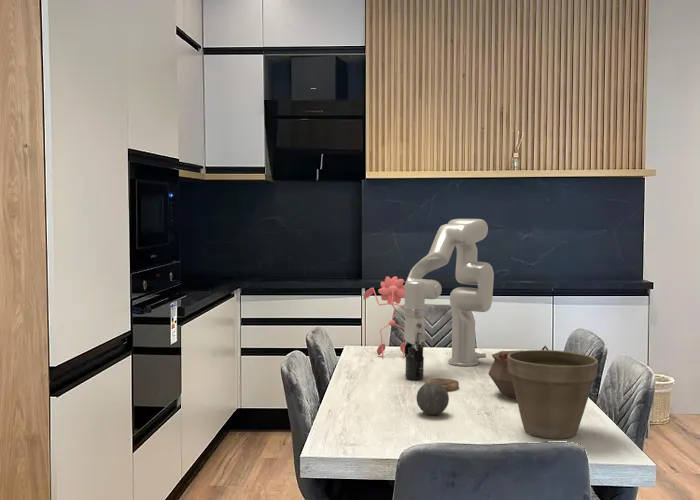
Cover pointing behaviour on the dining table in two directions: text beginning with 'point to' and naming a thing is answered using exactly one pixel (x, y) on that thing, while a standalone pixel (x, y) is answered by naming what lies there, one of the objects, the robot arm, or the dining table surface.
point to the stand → (445, 383)
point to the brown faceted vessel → (503, 374)
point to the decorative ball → (432, 398)
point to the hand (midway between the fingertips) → (413, 358)
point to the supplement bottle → (413, 366)
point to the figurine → (389, 302)
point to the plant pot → (551, 390)
